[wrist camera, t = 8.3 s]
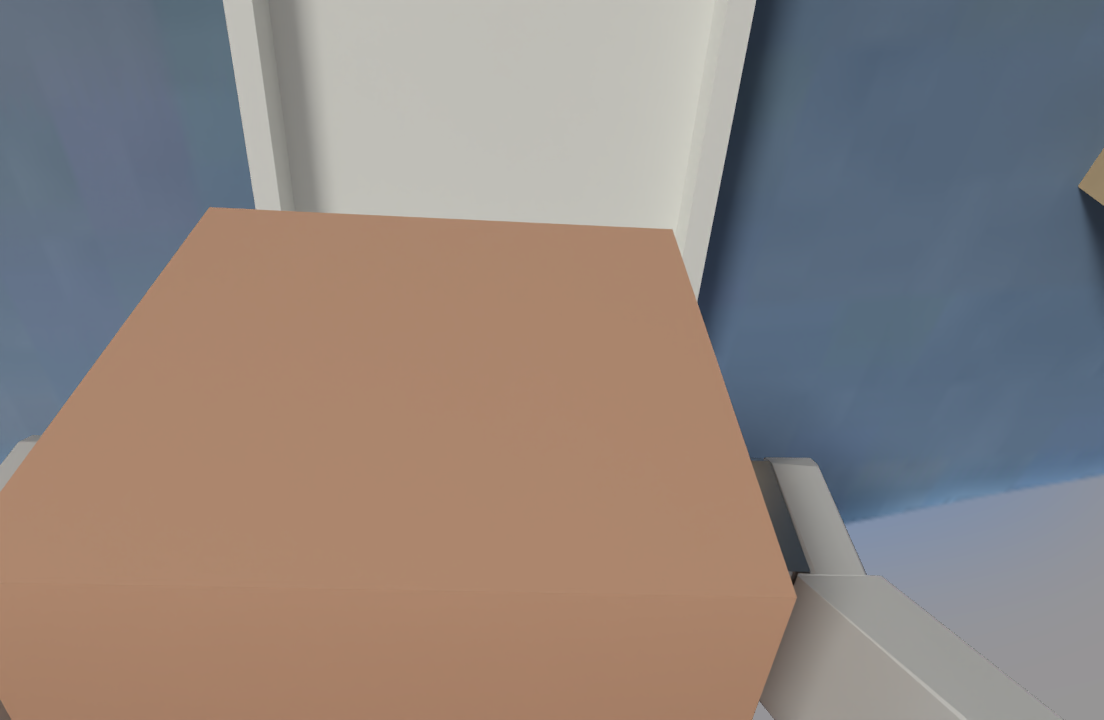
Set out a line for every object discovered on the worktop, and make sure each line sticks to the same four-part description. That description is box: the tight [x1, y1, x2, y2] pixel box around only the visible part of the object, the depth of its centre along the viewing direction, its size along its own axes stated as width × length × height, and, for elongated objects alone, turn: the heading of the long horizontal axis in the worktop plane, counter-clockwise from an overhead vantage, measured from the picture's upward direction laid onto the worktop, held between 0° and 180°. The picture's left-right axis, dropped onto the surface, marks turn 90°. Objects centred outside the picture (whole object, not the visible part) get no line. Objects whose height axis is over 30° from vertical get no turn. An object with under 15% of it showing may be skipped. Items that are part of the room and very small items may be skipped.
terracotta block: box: [0, 207, 797, 720], centre depth 8 cm, size 5×5×5 cm
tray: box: [223, 0, 756, 300], centre depth 19 cm, size 11×11×2 cm
